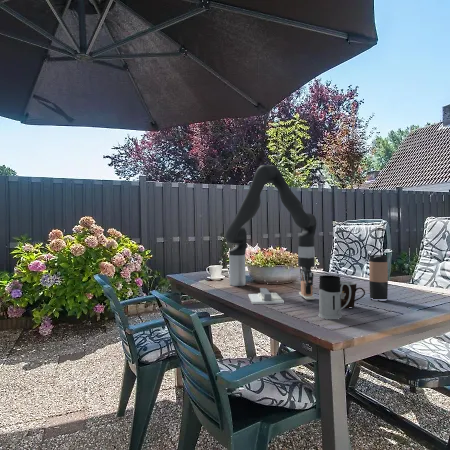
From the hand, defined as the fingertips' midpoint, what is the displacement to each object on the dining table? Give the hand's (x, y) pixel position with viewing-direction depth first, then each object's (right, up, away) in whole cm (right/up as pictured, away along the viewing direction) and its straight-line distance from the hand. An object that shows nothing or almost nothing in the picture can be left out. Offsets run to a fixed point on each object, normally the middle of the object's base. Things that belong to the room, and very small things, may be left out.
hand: (306, 292), depth 156 cm
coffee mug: (+13, -3, -16) cm, 21 cm away
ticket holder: (-19, -3, -1) cm, 20 cm away
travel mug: (+32, -3, -4) cm, 32 cm away
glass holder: (+3, -3, -32) cm, 32 cm away
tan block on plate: (0, -2, 0) cm, 2 cm away
